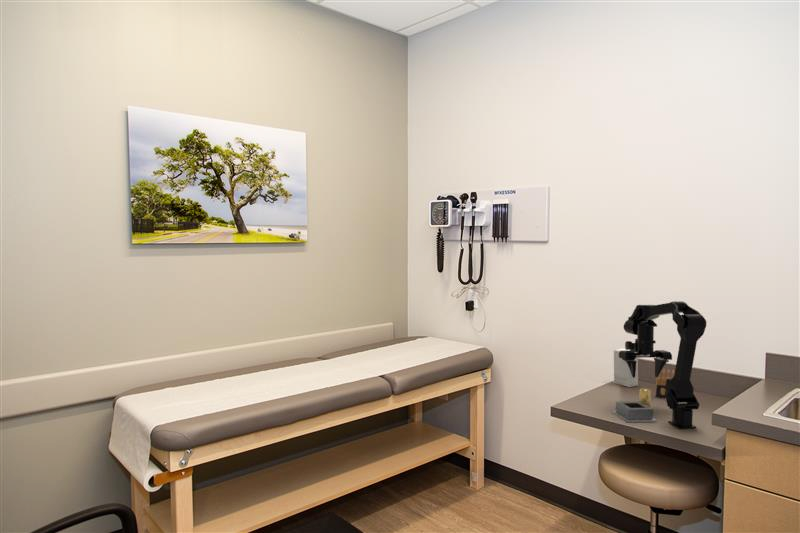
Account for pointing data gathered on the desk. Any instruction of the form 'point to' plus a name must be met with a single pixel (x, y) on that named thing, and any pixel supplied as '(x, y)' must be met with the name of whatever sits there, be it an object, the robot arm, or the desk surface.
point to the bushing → (645, 397)
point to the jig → (634, 412)
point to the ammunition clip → (662, 383)
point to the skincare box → (624, 371)
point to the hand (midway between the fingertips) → (644, 377)
